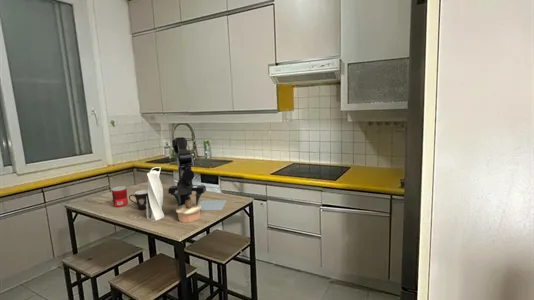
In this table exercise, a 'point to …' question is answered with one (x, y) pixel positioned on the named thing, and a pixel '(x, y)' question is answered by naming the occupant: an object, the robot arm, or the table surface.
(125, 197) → the canned food
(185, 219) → the bowl
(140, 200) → the coffee mug
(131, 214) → the table surface
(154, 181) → the skyscraper
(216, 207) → the mat
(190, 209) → the lid
